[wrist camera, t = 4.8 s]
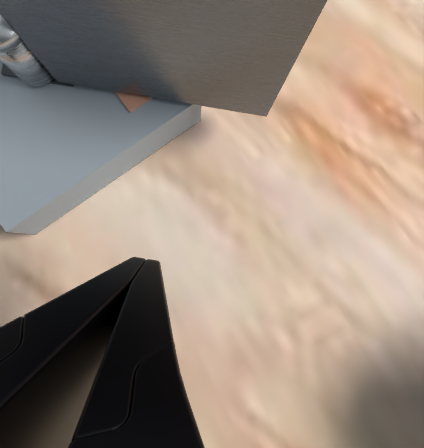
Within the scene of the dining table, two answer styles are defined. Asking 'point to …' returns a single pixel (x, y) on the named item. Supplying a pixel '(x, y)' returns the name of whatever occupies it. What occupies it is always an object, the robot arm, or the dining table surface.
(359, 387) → the dining table surface
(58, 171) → the gray square base
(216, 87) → the gray pivoting panel
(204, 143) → the dining table surface
